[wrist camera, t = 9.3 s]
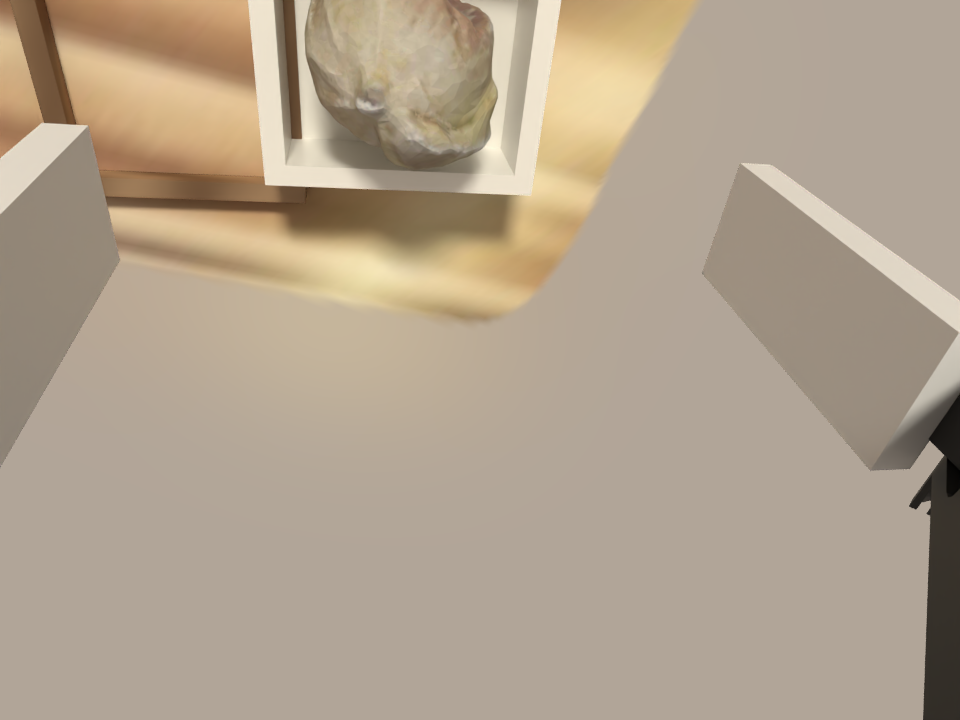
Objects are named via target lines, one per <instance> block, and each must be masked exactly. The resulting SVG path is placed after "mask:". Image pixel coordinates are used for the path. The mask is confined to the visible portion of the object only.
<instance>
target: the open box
mask: <svg viewBox="0 0 960 720" xmlns="http://www.w3.org/2000/svg"><path fill="white" fill-rule="evenodd" d="M460 1H461V2H462V3H469V4H471V5H473V6H476V7H478V8H480V9H481V10H482V11H483V12H484V13H486V14H487V15H488V16H489V17H490V20H491V22H492V24H493V30H494V47H493V57H492V78H493V80H494V83H495V85H496V87H497V90H498V99H497V102H496V105H495V108H494V111H493V113H492V116H491V119H490V126H491V137H490V139H489V141H488V142H487V144H486V145H485V147H484V148H483V149H481V150H479V151H478V152H476V153H474V154H472V155H470V156H468V157H466V158H463V159H459V160H457V161H455V162H452V163H450V164H448V165H445V166H443V167H435V168H426V169H421V170H410V169H408V168H405V167H402V166H398V165H395V164H393V163H392V162H391V161H389V160H388V159H387V158H386V156H385V155H384V153H383V151H382V149H381V148H380V147H378V146H372V145H369V144H367V143H365V142H364V141H362V140H361V139H359V138H357V137H356V136H355V135H354V134H353V133H352V132H351V131H349V130H348V129H347V128H346V127H344V126H343V125H341V124H340V123H338V122H337V121H336V120H335V119H334V118H333V117H332V115H331V114H330V113H329V112H328V111H327V110H326V109H325V108H324V107H323V106H322V104H321V103H320V101H319V99H318V96H317V94H316V91H315V87H314V83H313V79H312V76H311V73H310V69H309V66H308V63H307V59H306V55H305V35H304V33H305V25H306V20H307V15H308V9H309V6H310V2H311V0H294V2H295V20H296V38H297V56H298V73H299V91H300V109H301V127H302V139H292V134H291V118H290V103H289V88H288V73H287V57H286V42H285V27H284V11H283V0H248V5H249V16H250V27H251V38H252V48H253V59H254V70H255V81H256V91H257V102H258V113H259V124H260V134H261V145H262V156H263V167H264V177H265V185H275V186H301V187H326V188H351V189H377V190H402V191H428V192H453V193H479V194H504V195H529V196H531V192H532V186H533V180H534V173H535V167H536V160H537V154H538V147H539V141H540V134H541V128H542V121H543V115H544V108H545V102H546V95H547V89H548V83H549V76H550V70H551V63H552V57H553V50H554V44H555V37H556V31H557V24H558V18H559V11H560V5H561V0H460Z"/></svg>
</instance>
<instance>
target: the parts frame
mask: <svg viewBox="0 0 960 720" xmlns="http://www.w3.org/2000/svg"><path fill="white" fill-rule="evenodd" d="M10 3H11V6H12V10H13V14H14V17H15V21H16V24H17V28H18V31H19V35H20V38H21V42H22V46H23V49H24V53H25V56H26V60H27V63H28V67H29V70H30V74H31V78H32V81H33V85H34V88H35V92H36V95H37V99H38V102H39V106H40V109H41V113H42V117H43V120H44V123H52V124H69V125H76V124H75V120H74V116H73V112H72V108H71V104H70V100H69V96H68V92H67V88H66V84H65V80H64V76H63V72H62V68H61V65H60V61H59V57H58V53H57V49H56V45H55V41H54V37H53V33H52V29H51V25H50V21H49V17H48V13H47V9H46V6H45V2H44V0H10ZM283 11H284V27H285V42H286V57H287V73H288V88H289V103H290V118H291V134H292V139H302V127H301V109H300V91H299V73H298V56H297V38H296V20H295V2H294V0H283ZM99 173H100V177H101V181H102V186H103V190H104V194H105V196H111V197H139V198H168V199H197V200H225V201H254V202H282V203H306V197H307V194H306V187H301V186H275V185H265V177H252V176H228V175H204V174H180V173H156V172H131V171H107V170H99Z"/></svg>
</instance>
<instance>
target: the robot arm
mask: <svg viewBox="0 0 960 720" xmlns="http://www.w3.org/2000/svg"><path fill="white" fill-rule="evenodd" d="M119 261H120V258H119V254H118V249H117V245H116V241H115V237H114V232H113V228H112V224H111V220H110V215H109V211H108V207H107V203H106V198H105V194H104V190H103V186H102V181H101V177H100V173H99V169H98V164H97V160H96V156H95V152H94V147H93V143H92V139H91V135H90V131H89V126H86V125H69V124H52V123H41V124H40V125H39V126H38V127H37V128H35V129H34V130H33V131H32V132H31V133H29V134H28V135H27V136H26V137H25V138H24V139H22V140H21V141H20V142H19V143H18V144H16V145H15V146H14V147H13V148H12V149H11V150H9V151H8V152H7V153H6V154H5V155H3V156H2V157H1V158H0V467H1V465H2V464H3V462H4V460H5V458H6V457H7V455H8V453H9V451H10V450H11V448H12V446H13V444H14V443H15V441H16V439H17V438H18V436H19V434H20V432H21V431H22V429H23V427H24V425H25V424H26V422H27V420H28V419H29V417H30V415H31V413H32V412H33V410H34V408H35V406H36V405H37V403H38V401H39V399H40V398H41V396H42V394H43V392H44V391H45V389H46V387H47V385H48V384H49V382H50V381H51V379H52V377H53V375H54V373H55V372H56V370H57V368H58V367H59V365H60V363H61V362H62V360H63V358H64V356H65V354H66V353H67V351H68V349H69V348H70V346H71V344H72V342H73V341H74V339H75V337H76V336H77V334H78V332H79V330H80V328H81V327H82V325H83V323H84V322H85V320H86V318H87V317H88V314H89V313H90V311H91V310H92V308H93V306H94V304H95V302H96V301H97V299H98V297H99V296H100V294H101V292H102V291H103V289H104V287H105V285H106V284H107V282H108V280H109V278H110V277H111V275H112V273H113V272H114V270H115V268H116V266H117V265H118V263H119ZM702 274H703V275H704V276H705V277H706V279H707V280H708V281H709V282H710V283H711V284H712V286H713V287H714V288H715V289H716V290H717V291H718V293H719V294H720V295H721V296H722V297H723V298H724V300H725V301H726V302H727V303H728V304H729V306H730V307H731V308H732V309H733V310H734V311H735V313H736V314H737V315H738V316H739V317H740V318H741V320H742V321H743V322H744V323H745V324H746V326H747V327H748V328H749V329H750V330H751V331H752V333H753V334H754V335H755V336H756V337H757V338H758V340H759V341H760V342H761V343H762V344H763V345H764V347H765V348H766V349H767V350H768V351H769V352H770V354H771V355H772V356H773V357H774V358H775V360H776V361H777V362H778V363H779V364H780V365H781V367H782V368H783V369H784V370H785V371H786V372H787V374H788V375H789V376H790V377H791V378H792V379H793V380H794V382H795V383H796V384H797V385H798V386H799V388H800V389H801V390H802V391H803V392H804V393H805V395H806V396H807V397H808V398H809V399H810V401H811V402H812V403H813V404H814V405H815V406H816V408H817V409H818V410H819V411H820V412H821V413H822V415H823V416H824V417H825V418H826V419H827V420H828V422H829V423H830V424H831V425H832V426H833V427H834V429H835V430H836V431H837V432H838V433H839V435H840V436H841V437H842V438H843V439H844V440H845V442H846V443H847V444H848V445H849V446H850V447H851V449H852V450H853V451H854V452H855V453H856V454H857V456H858V457H859V458H860V459H861V460H862V461H863V463H864V464H865V465H866V466H867V467H868V469H869V470H892V469H893V470H894V469H910V468H911V467H912V465H913V464H914V462H915V461H916V459H917V458H918V456H919V455H920V454H921V452H922V451H923V449H924V448H925V446H926V445H927V443H928V442H929V441H931V442H932V443H933V444H934V445H935V446H936V447H937V448H938V449H939V450H940V451H941V452H942V453H943V454H944V457H943V458H942V459H941V461H940V462H939V463H938V465H937V466H936V468H935V469H934V470H933V472H932V473H931V475H930V476H929V477H928V479H927V480H926V481H925V483H924V484H923V486H922V487H921V489H920V490H919V491H918V493H917V494H916V495H915V497H914V498H913V499H912V501H911V503H910V505H909V507H912V508H914V509H917V508H918V506H919V505H920V504H921V502H926V501H929V500H930V501H931V508H930V509H929V511H928V512H927V514H928V515H930V544H929V572H928V599H927V627H926V655H925V683H924V712H923V720H960V300H958V299H957V298H955V297H954V296H953V295H951V294H950V293H948V292H947V291H946V290H944V289H943V288H941V287H940V286H939V285H937V284H936V283H935V282H933V281H932V280H930V279H929V278H928V277H926V276H925V275H923V274H922V273H921V272H919V271H918V270H917V269H915V268H914V267H912V266H911V265H910V264H908V263H907V262H905V261H904V260H903V259H901V258H900V257H898V256H897V255H896V254H894V253H893V252H891V251H890V250H889V249H887V248H886V247H885V246H883V245H882V244H880V243H879V242H877V241H876V240H875V239H874V238H872V237H871V236H869V235H868V234H867V233H865V232H864V231H862V230H861V229H860V228H858V227H857V226H855V225H854V224H853V223H851V222H850V221H849V220H847V219H846V218H844V217H843V216H841V215H840V214H839V213H837V212H836V211H835V210H833V209H832V208H831V207H829V206H828V205H826V204H825V203H823V202H822V201H821V200H819V199H818V198H817V197H815V196H814V195H812V194H811V193H809V192H808V191H807V190H806V189H804V188H803V187H801V186H800V185H799V184H797V183H796V182H794V181H793V180H791V179H790V178H789V177H788V176H786V175H785V174H783V173H782V172H781V171H779V170H778V169H776V168H775V167H773V166H772V165H765V164H748V163H740V165H739V168H738V171H737V174H736V177H735V179H734V182H733V185H732V188H731V191H730V194H729V197H728V200H727V203H726V205H725V208H724V211H723V214H722V217H721V220H720V223H719V226H718V229H717V232H716V234H715V237H714V240H713V243H712V246H711V249H710V252H709V255H708V257H707V260H706V263H705V266H704V269H703V271H702Z"/></svg>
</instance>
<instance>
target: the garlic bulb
mask: <svg viewBox="0 0 960 720" xmlns="http://www.w3.org/2000/svg"><path fill="white" fill-rule="evenodd" d="M304 35H305V55H306V59H307V63H308V66H309V69H310V73H311V76H312V79H313V83H314V87H315V91H316V94H317V96H318V99H319V101H320V103H321V104H322V106H323V107H324V108H325V109H326V110H327V111H328V112H329V113H330V114H331V115H332V117H333V118H334V119H335V120H336V121H337V122H338V123H340V124H341V125H343V126H344V127H346V128H347V129H348V130H349V131H351V132H352V133H353V134H354V135H355V136H356V137H357V138H359V139H361V140H362V141H364V142H365V143H367V144H369V145H372V146H378V147H380V148H381V149H382V151H383V153H384V155H385V156H386V158H387V159H388V160H389V161H391V162H392V163H393V164H395V165H398V166H402V167H405V168H408V169H410V170H421V169H426V168H435V167H443V166H445V165H448V164H450V163H452V162H455V161H457V160H459V159H463V158H466V157H468V156H470V155H472V154H474V153H476V152H478V151H479V150H481V149H483V148H484V147H485V145H486V144H487V142H488V141H489V139H490V137H491V126H490V119H491V116H492V113H493V111H494V108H495V105H496V102H497V99H498V90H497V87H496V85H495V83H494V80H493V78H492V57H493V47H494V30H493V24H492V22H491V20H490V17H489V16H488V15H487V14H486V13H484V12H483V11H482V10H481V9H480V8H478V7H476V6H473V5H471V4H469V3H462V2H461V1H460V0H311V2H310V6H309V9H308V15H307V20H306V25H305V33H304Z"/></svg>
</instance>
